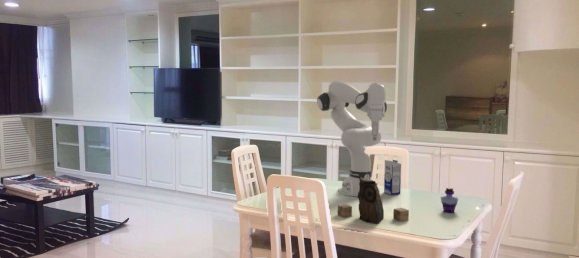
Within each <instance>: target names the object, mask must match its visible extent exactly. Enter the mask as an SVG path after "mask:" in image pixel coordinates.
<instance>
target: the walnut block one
mask: <svg viewBox="0 0 579 258" xmlns="http://www.w3.org/2000/svg"><path fill="white" fill-rule="evenodd" d="M352 210H353V206H352V205H349V204H345V203H344V204H340V205H337V216H338V217H341V218H343V219H345V218H350V217H351V218H352V217H353V211H352Z"/></svg>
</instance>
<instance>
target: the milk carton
mask: <svg viewBox="0 0 579 258" xmlns="http://www.w3.org/2000/svg"><path fill="white" fill-rule="evenodd" d="M383 175H384V178H383V179H384V180H383V181H384V182H383V185H384V186H383V193H385V194H387V195H390V196H395V195H400V194H401V183H402V181H401V176H402V163H399V160H396V159H392V160H387V159H384V173H383Z"/></svg>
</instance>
